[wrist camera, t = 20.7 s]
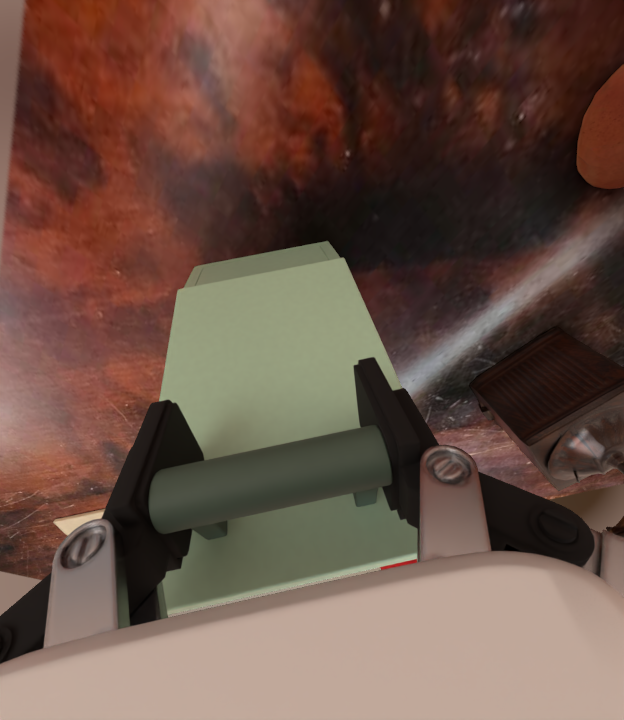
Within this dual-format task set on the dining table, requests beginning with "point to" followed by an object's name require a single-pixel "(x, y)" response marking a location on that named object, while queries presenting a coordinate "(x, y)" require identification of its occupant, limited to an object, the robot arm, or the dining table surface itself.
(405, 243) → the dining table surface
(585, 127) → the goblet
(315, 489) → the lunchbox lid
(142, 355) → the dining table surface
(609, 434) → the manual coffee grinder
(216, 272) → the lunchbox
